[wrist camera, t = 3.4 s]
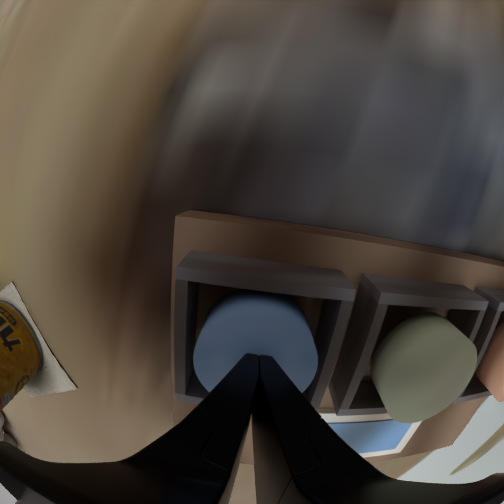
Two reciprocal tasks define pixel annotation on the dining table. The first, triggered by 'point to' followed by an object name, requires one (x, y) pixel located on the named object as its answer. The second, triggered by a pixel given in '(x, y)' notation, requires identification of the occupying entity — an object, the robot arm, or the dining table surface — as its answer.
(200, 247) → the console
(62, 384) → the condiment
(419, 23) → the dining table surface
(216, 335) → the slate blue button
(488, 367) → the terracotta button
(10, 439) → the round bodied animal figurine
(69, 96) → the dining table surface
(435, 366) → the sage button
